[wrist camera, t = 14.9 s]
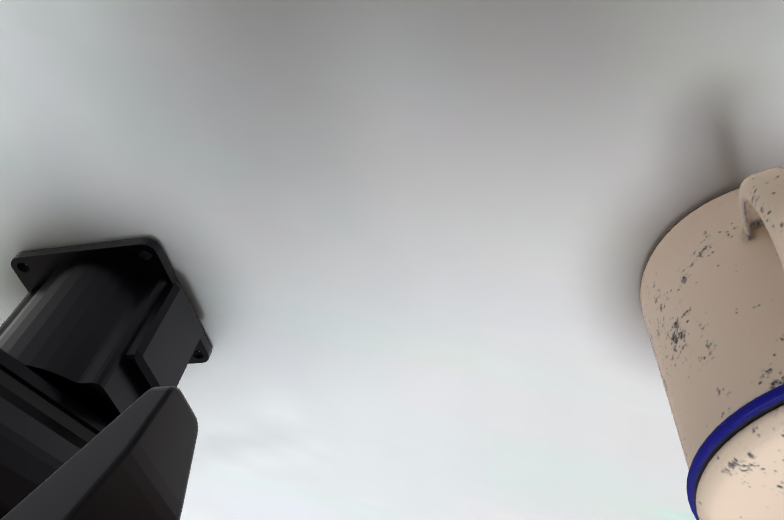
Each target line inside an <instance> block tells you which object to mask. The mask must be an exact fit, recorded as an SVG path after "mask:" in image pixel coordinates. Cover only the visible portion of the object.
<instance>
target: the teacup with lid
mask: <svg viewBox="0 0 784 520" xmlns="http://www.w3.org/2000/svg"><path fill="white" fill-rule="evenodd" d="M640 301H641V308H642V312H643V316H644V319H645V323H646V326H647V329H648V333H649V336H650V340H651V343H652V346H653V350H654V353H655V357H656V360H657V363H658V367H659V370H660V374H661V377H662V380H663V384H664V387H665V391H666V394H667V397H668V401H669V404H670V408H671V411H672V414H673V418H674V421H675V425H676V428H677V431H678V435H679V438H680V442H681V445H682V448H683V452H684V455H685V459H686V462H687V465H688V469H689V473H688V477H687V495H688V501H689V504H690V507H691V510H692V512H693V514H694V516H695V518H696V519H697V520H784V168H780V167H777V168H770V169H767V170H764V171H761V172H758V173H755V174H752V175H750V176H748V177H747V178H746V179H744V181H743V182H742V184H741V186H740V188H739V189H736V190H733V191H730V192H728V193H726V194H724V195H721V196H719V197H717V198H715V199H713V200H711V201H709V202H707V203H706V204H704V205H702V206H701V207H699V208H698V209H696V210H694V211H693V212H691V213H690V214H689V215H687V216H686V217H685V218H683V219H682V220H681V221H680V222H679V223H678V224H677V225H675V226H674V227H673V228H672V229H671V230H670V231H669V232H668V233H667V234H666V236H665V237H664V238H663V239H662V240H661V242H660V243H659V244H658V246H657V247H656V249H655V250H654V252H653V253H652V255H651V257H650V259H649V261H648V263H647V266H646V268H645V271H644V274H643V278H642V282H641V289H640Z"/></svg>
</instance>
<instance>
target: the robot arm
mask: <svg viewBox="0 0 784 520" xmlns="http://www.w3.org/2000/svg"><path fill="white" fill-rule="evenodd" d="M145 250H148V251H149V252H150V253H151V254H150V253H147V252H146V251H145ZM11 266H12V268H13V270H14V271H15V273H16V274H17V276H18V277H19V279H20V280H21V282H22V283H23V284H24V286H25V287H26V289H27V290H28V292H29V293H28V295H27V296H26V297H25V298H24V299H23V300H22V302H21V303H20V304H19V305H18V306H17V308H16V309H15V310H14V311H13V312H12V313H11V315H10V316H9V317H8V318H7V319H6V321H5V322H4V323H3V324H2V325H1V327H0V520H180V516H181V512H182V508H183V503H184V498H185V493H186V488H187V483H188V478H189V474H190V469H191V464H192V459H193V454H194V449H195V444H196V439H197V434H198V422H197V419H196V416H195V414H194V413H193V411H192V409H191V408H190V406H189V404H188V402H187V401H186V399H185V397H184V395H183V394H182V392H181V391H180V389H178V388H177V385H178V383H179V381H180V379H181V377H182V375H183V373H184V371H185V369H186V366H187V364H191V363H203V362H206V361H207V360H208V359H209V357H210V355H211V352H212V348H211V346H210V344H209V342H208V340H207V338H206V336H205V334H204V332H203V328H202V326H201V324H200V322H199V320H198V318H197V316H196V314H195V312H194V310H193V308H192V306H191V304H190V302H189V300H188V298H187V296H186V294H185V292H184V290H183V288H182V287H181V286H180V284H179V282H178V280H177V278H176V276H175V274H174V272H173V270H172V268H171V266H170V264H169V262H168V260H167V258H166V256H165V254H164V252H163V250H162V248H161V247H160V245H159V244H158V243H157V242H156V241H154V240H152V239H149V238H142V239H133V240H124V241H115V242H106V243H97V244H88V245H79V246H70V247H61V248H52V249H43V250H34V251H25V252H20V253H18V254H17V255H16V256H15V257H14V259H13V260H12V261H11ZM199 351H200V352H199Z"/></svg>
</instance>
